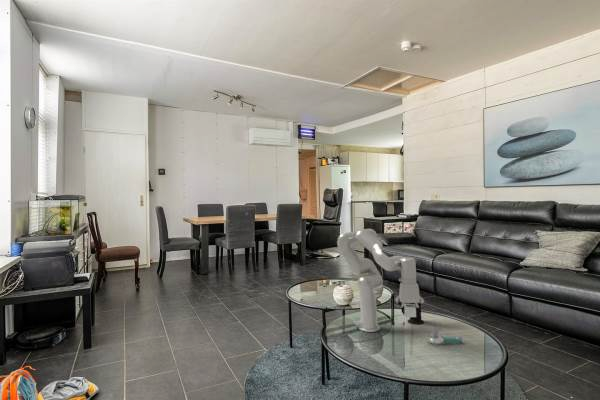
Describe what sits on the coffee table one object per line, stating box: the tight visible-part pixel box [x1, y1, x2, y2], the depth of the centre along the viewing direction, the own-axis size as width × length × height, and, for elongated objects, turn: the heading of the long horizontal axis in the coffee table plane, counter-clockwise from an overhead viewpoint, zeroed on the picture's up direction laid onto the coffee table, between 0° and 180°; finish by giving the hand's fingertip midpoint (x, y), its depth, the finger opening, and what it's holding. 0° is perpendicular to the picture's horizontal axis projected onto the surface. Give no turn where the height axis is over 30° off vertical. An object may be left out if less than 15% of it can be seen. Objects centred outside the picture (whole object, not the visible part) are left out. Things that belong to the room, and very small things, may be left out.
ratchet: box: [427, 327, 463, 346], centre depth 172 cm, size 16×8×7 cm, turn 77°
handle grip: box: [407, 279, 425, 326], centre depth 204 cm, size 10×26×10 cm
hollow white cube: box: [403, 303, 416, 318], centre depth 176 cm, size 6×6×5 cm
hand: (409, 313), depth 176 cm, fingers closed on hollow white cube, 5 cm apart
